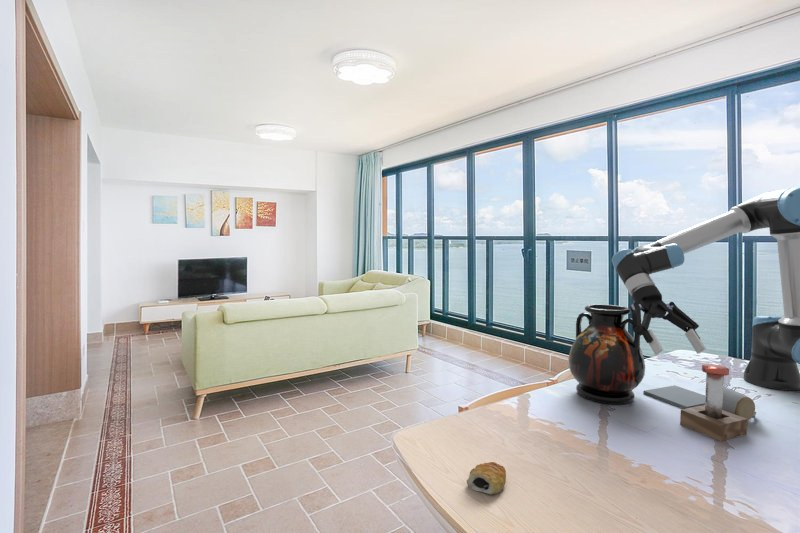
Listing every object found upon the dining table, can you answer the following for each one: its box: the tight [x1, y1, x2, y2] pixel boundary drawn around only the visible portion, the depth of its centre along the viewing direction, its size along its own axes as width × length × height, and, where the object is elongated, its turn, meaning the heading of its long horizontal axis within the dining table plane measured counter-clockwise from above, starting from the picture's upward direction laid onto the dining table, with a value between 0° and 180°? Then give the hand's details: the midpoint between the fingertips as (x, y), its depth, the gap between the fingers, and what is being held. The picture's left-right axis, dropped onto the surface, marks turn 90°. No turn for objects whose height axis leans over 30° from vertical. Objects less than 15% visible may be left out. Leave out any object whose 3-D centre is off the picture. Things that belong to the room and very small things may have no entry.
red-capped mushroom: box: [701, 363, 730, 419], centre depth 109 cm, size 6×6×16 cm
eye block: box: [679, 405, 749, 442], centre depth 109 cm, size 10×10×4 cm
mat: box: [643, 385, 705, 409], centre depth 131 cm, size 14×14×1 cm
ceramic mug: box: [722, 385, 757, 422], centre depth 117 cm, size 11×8×8 cm
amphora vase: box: [568, 304, 646, 405], centre depth 132 cm, size 22×22×28 cm
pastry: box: [466, 461, 507, 495], centre depth 85 cm, size 9×7×4 cm
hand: (680, 351), depth 118 cm, fingers open, 13 cm apart
